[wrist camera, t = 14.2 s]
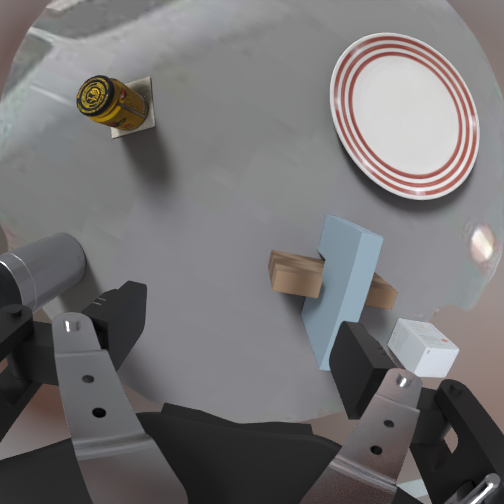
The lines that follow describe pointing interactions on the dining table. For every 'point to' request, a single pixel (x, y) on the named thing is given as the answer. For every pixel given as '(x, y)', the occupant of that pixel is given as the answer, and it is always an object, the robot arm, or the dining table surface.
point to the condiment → (117, 104)
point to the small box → (422, 348)
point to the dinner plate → (404, 115)
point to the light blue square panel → (340, 283)
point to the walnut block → (318, 279)
